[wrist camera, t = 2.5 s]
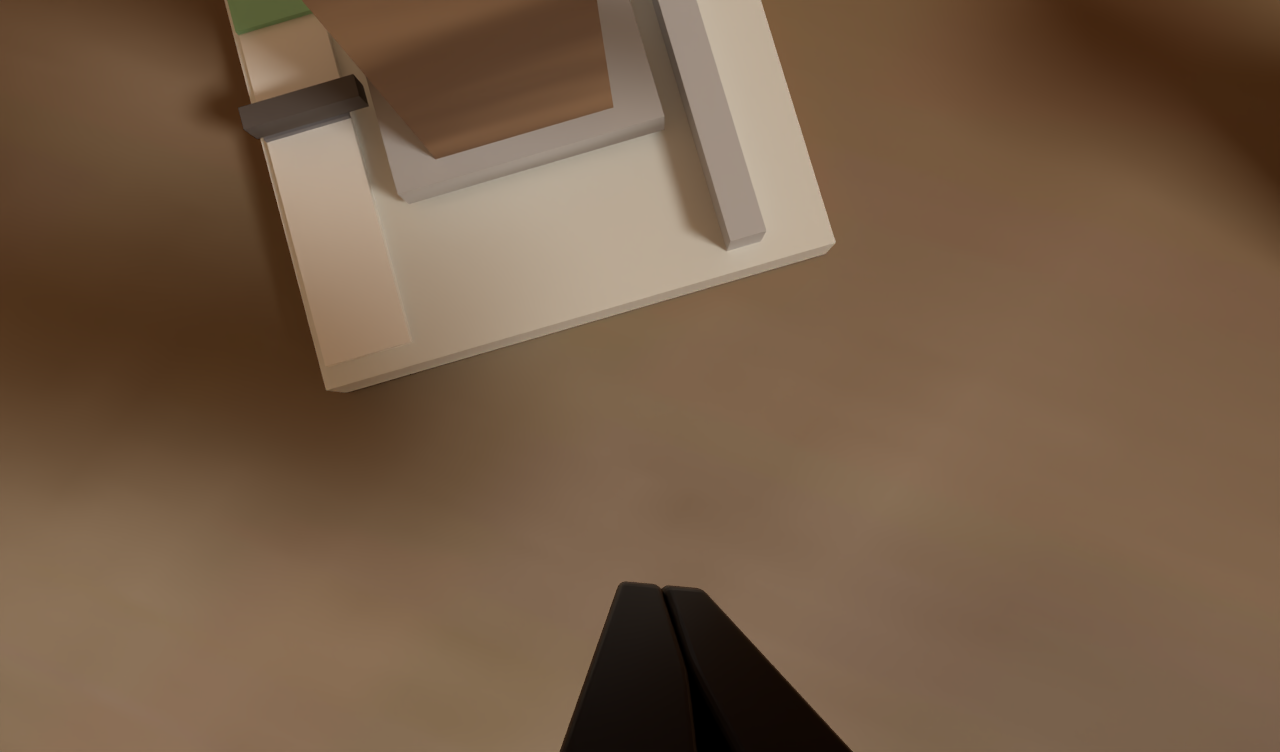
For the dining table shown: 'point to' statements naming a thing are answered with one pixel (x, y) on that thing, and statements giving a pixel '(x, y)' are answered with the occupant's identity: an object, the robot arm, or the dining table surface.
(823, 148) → the dining table surface
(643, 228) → the gauge board
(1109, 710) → the dining table surface
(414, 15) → the gauge slider
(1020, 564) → the dining table surface
